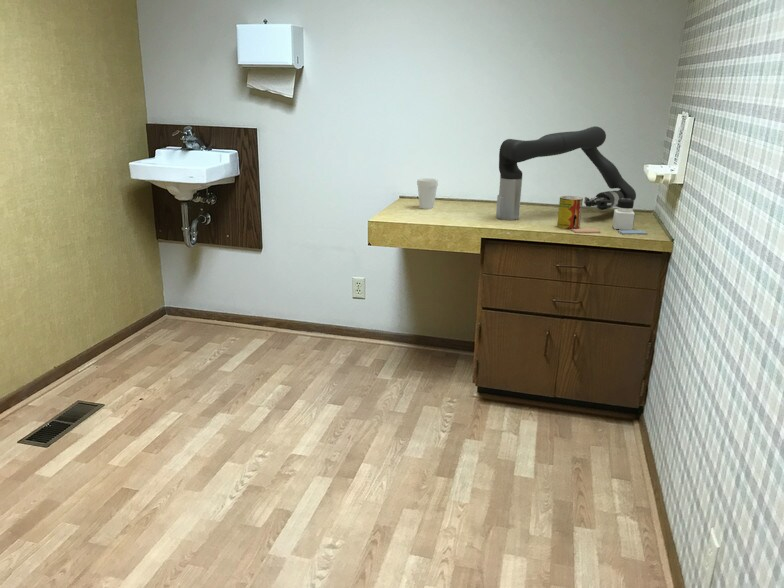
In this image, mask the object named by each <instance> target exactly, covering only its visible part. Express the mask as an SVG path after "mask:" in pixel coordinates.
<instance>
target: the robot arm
mask: <svg viewBox="0 0 784 588" xmlns="http://www.w3.org/2000/svg"><path fill="white" fill-rule="evenodd" d="M606 138H607V134H606V131H605V130H604V129H603V128H602V127H600V126H595V125H594V126H590V127H588V128H585V129H582V130H577V131H576V130H575V131H561V132H554V133H548V134H545V135H543V136H541V137H540V138H538V139H531V140H520V139H515V138H514V139H513V138H507V139H504V140H503V141H502V143H501V144H500V148H499V150H498V151H499V153H498V154H499V155H498V170H499V177H500V178H499V188H498V189H499V190H498V192H499V193H498V194H497V197H496V198H497V199H496V201H497V202H496V211H495V212H496V213H495V214H496V215H495V217H496V218H497V219H499V220H504V219H506V220H507V221H511V220H512V221H516V220H519V219H520V208H521V196H522V185H523V184H522V183H523V171H522V170H521V169H520V168H519V166H518V163H521V162H522V163H523V162H526V161H528V160H531V159H535V158H542V157H543V158H544V157H552V156H558V155H563V154H566V153H569V152H572V151H576V150H578V149H581V151H582V152H583V153H584V154H585V155H586V156H587V158H588V160H590V161H591V163H592V164H593V165H594V166H595V167H596V169H597V171H598V172H599V173H600V174H601V176H602V178H603V180H604V182H605V184H606V185H607V187H608V188H609V189H612V190H609V191H608V190H607V191H602V192H599V193H597V194H596V195H595V197H591V198H590V197H587V196H585V197H584V199H583V200H584V201H583V203H584V204H585V206H586V207H588V208H591V207H595V208H597V209H599V210H603V211H604V210H607V209H608V210H609V209H612V208H614V207H616V208H617V205H618V200H619V199H631V200H633V201H634V202H635V200H636V199H637V192H636V190H635V189H634V187H632V186H631V185H630V184H629V183H628V182H627V181H626V180H625V179H624V178H623V176H622V174H621V173H620V171H619V169H618V167H616V165H615V164H614V163H613V162H612V161H610V160H609V159H608V158H607V157H606V156H604V154H602V153H601V151H600V150H599V149H598V148H599V147H601V146H603V144H604V143H605V142H606ZM613 189H618V190H613ZM515 219H516V220H515ZM506 220H505V221H506Z"/></svg>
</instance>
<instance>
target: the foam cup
mask: <svg viewBox="0 0 784 588" xmlns="http://www.w3.org/2000/svg"><path fill="white" fill-rule="evenodd" d="M438 182H439V180H438V179H436V178H426V177H425V178H423V177H421V178H417V181H416V184H417V193H418V202H419V203H418V204H419V209H421V208H423V209H422V210H433V209H434V207H435V201H436V196H437V195H436V193H437V189H438V185H439V184H438ZM432 208H433V209H432Z"/></svg>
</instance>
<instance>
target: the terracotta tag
mask: <svg viewBox="0 0 784 588" xmlns="http://www.w3.org/2000/svg"><path fill="white" fill-rule="evenodd" d="M570 230H571V232H573V233H574V234H600V233H601V230H598V229H596V228H579V229H570Z"/></svg>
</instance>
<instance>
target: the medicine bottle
mask: <svg viewBox="0 0 784 588" xmlns="http://www.w3.org/2000/svg"><path fill="white" fill-rule="evenodd" d="M634 204H635V200H634V201H633V200H631V199H619V200H618V205H617V207H616V208H617V209H615V208H614V209H613V219H612V227H613V229H614V230H615V229H619V230H634V223H635V217H636V214H635V212H634Z"/></svg>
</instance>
